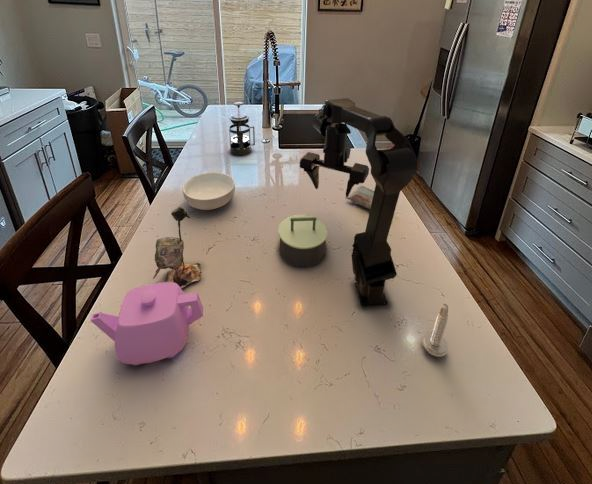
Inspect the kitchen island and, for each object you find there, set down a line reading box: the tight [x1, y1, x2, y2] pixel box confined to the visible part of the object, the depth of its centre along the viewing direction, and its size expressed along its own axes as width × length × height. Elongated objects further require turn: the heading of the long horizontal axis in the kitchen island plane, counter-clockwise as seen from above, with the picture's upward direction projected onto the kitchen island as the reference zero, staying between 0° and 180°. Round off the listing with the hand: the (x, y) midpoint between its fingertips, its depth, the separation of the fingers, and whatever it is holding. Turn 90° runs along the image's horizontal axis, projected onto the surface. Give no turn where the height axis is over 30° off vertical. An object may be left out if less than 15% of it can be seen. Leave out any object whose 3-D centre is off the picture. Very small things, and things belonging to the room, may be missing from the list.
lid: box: [277, 213, 329, 249], centre depth 90 cm, size 14×14×5 cm
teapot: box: [90, 281, 204, 366], centre depth 66 cm, size 20×12×13 cm, turn 104°
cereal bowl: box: [182, 171, 236, 211], centre depth 111 cm, size 17×17×7 cm
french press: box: [227, 101, 256, 157], centre depth 143 cm, size 12×9×23 cm
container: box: [279, 238, 327, 268], centre depth 92 cm, size 13×13×6 cm
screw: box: [421, 303, 449, 358], centre depth 65 cm, size 13×5×5 cm
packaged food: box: [344, 185, 375, 210], centre depth 113 cm, size 9×12×5 cm
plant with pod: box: [152, 206, 202, 289], centre depth 79 cm, size 8×11×20 cm
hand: (331, 192), depth 95 cm, fingers open, 9 cm apart
